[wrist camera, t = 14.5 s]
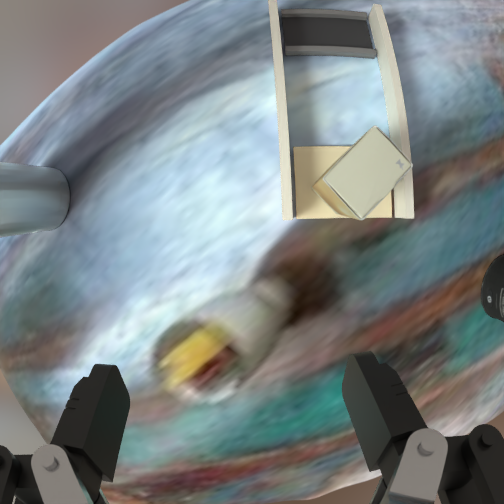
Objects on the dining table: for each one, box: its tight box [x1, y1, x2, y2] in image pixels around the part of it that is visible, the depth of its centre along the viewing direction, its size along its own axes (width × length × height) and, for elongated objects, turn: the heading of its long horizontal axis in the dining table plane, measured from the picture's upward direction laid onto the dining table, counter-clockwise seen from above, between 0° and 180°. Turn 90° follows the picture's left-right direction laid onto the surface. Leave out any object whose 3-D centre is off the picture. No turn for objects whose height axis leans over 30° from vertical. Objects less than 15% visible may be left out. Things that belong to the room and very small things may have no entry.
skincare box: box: [311, 126, 413, 220], centre depth 26 cm, size 6×4×12 cm
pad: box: [293, 146, 392, 219], centre depth 32 cm, size 11×8×1 cm
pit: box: [281, 9, 376, 59], centre depth 29 cm, size 11×7×1 cm, turn 93°
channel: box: [268, 0, 414, 220], centre depth 29 cm, size 14×27×4 cm, turn 3°
